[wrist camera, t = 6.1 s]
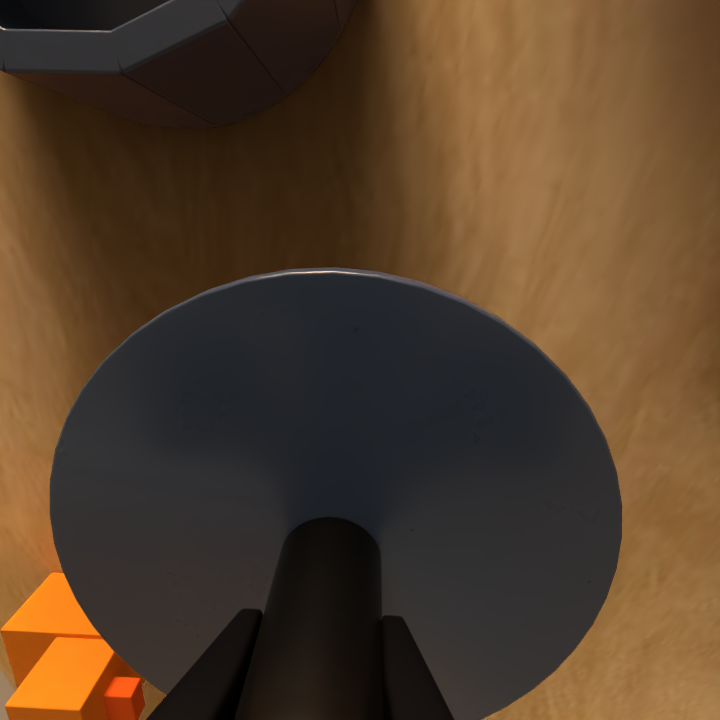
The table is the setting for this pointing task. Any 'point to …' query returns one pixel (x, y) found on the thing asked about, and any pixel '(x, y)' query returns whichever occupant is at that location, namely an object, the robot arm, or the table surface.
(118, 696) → the duck
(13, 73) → the pot
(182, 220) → the table surface
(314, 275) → the lid
